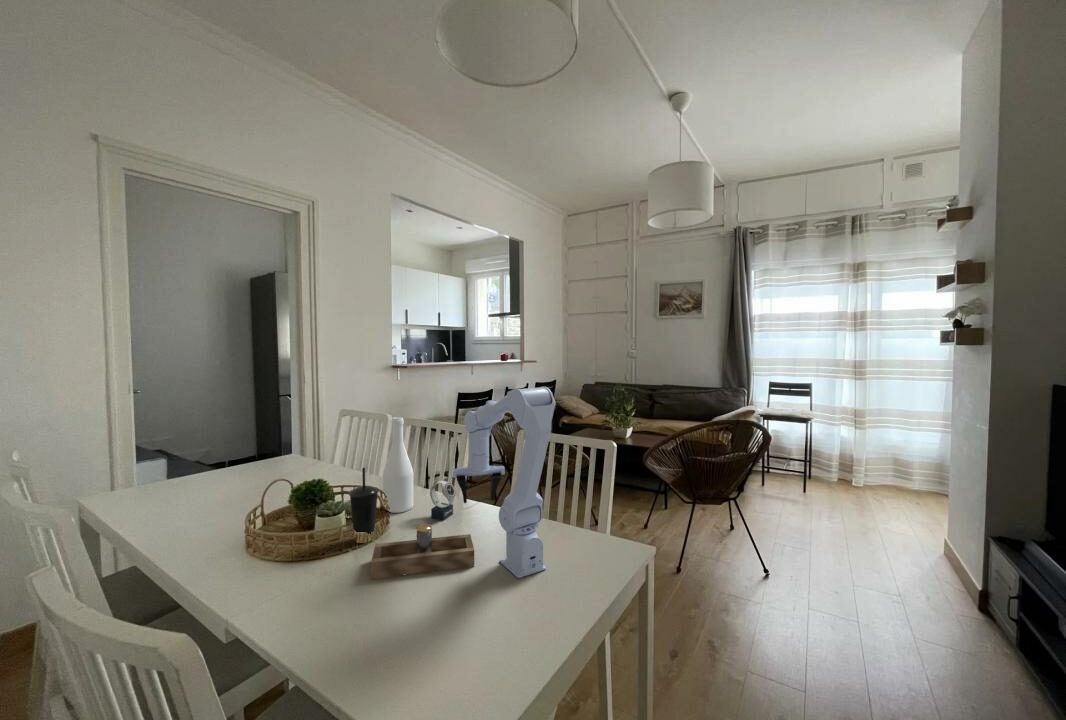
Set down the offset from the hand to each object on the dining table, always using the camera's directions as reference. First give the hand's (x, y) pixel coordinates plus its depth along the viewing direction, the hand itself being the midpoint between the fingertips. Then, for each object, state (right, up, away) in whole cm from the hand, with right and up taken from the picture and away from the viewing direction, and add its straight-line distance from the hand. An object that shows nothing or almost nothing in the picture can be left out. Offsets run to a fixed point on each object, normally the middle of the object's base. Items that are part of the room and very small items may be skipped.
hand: (478, 500), depth 120 cm
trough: (-11, -10, -15) cm, 22 cm away
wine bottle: (-29, -9, +20) cm, 36 cm away
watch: (-13, -10, +13) cm, 21 cm away
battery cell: (-11, -9, -15) cm, 21 cm away
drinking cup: (-31, -10, -3) cm, 33 cm away
